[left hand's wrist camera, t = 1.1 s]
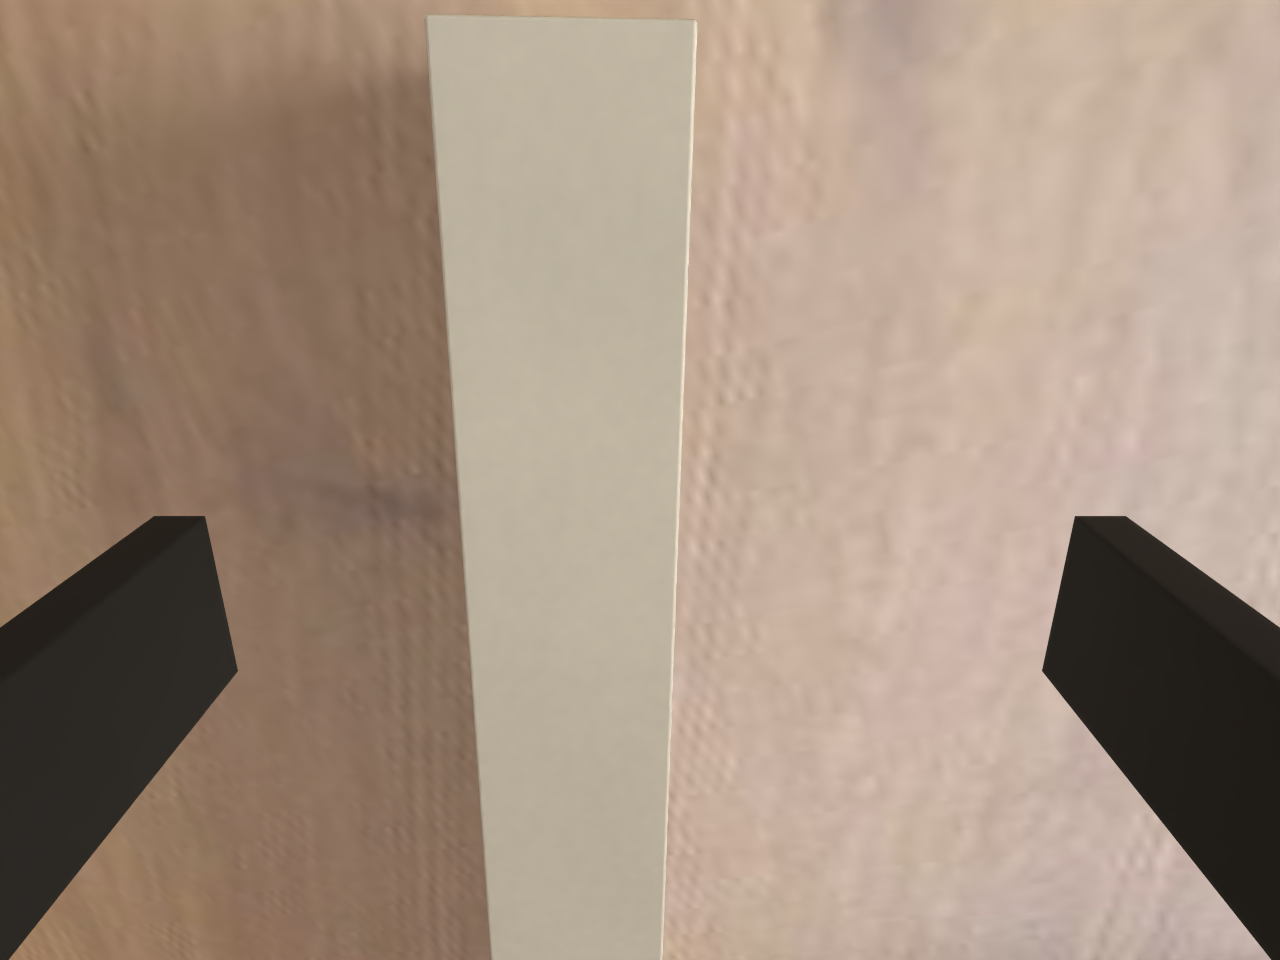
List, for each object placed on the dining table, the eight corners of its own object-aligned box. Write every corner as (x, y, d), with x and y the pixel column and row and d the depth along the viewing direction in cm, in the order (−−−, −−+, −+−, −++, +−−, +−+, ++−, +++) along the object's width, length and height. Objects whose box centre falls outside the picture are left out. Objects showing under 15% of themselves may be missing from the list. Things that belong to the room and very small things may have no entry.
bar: (491, 60, 24) (422, 13, 16) (680, 63, 24) (697, 19, 17) (542, 1195, 44) (522, 1408, 37) (644, 1197, 44) (645, 1409, 37)
